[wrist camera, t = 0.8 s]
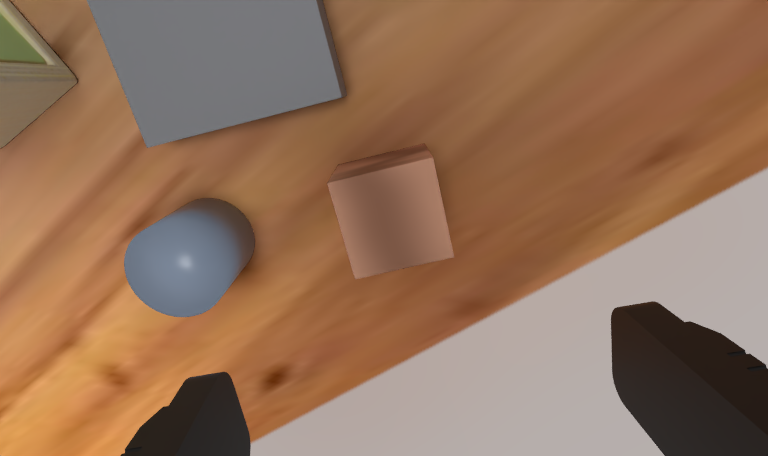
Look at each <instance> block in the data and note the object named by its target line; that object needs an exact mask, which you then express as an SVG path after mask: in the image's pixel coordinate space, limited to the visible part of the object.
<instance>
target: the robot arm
mask: <svg viewBox="0 0 768 456" xmlns="http://www.w3.org/2000/svg"><path fill="white" fill-rule="evenodd" d="M611 336H612V372H613V379H614V384H615V387H616V390H617V392H618V395H619V397H620V399H621V401H622V402H623V404H624V405H625V407H626V408H627V409H628V410H629V411H630V412H631V414H632V415H633V416H634V418H635V419H636V420H637V422H638V423H639V424H640V425H641V427H642V428H643V429H644V430H645V431H646V433H647V434H648V435H649V436H650V438H651V439H652V440H653V441H654V443H655V444H656V445H657V446H658V448H659V449H660V450H661V451H662V453H663V454H664V455H665V456H768V369H767V368H766V365H765V364H764V363H762V362H761V361H760V360H758V359H757V358H755V357H754V356H752V355H751V354H746V353H745V350H744V349H742V348H741V347H739V346H738V345H737V344H735V343H734V342H732V341H731V340H729V339H728V338H727V337H725V336H724V335H722V334H721V333H718V332H716V331H713V330H711V329H708V328H705V327H703V326H700V325H698V324H696V323H693V322H683V321H682V320H681V319H679V318H678V317H677V316H675V315H674V314H673V313H671V312H670V311H668V310H667V309H666V308H665V307H663V306H662V305H660V304H659V303H657V302H647V303H641V304H635V305H629V306H623V307H617V308H615V309H614V310H613V312H612V315H611ZM121 456H250V436H249V431H248V428H247V425H246V421H245V418H244V415H243V412H242V409H241V406H240V403H239V400H238V397H237V394H236V391H235V388H234V384H233V382H232V379H231V377H230V375H229V374H228V373H226V372H220V373H214V374H208V375H202V376H196V377H190V378H188V379H186V380H185V382H184V383H183V385H182V386H181V388H180V389H179V391H178V392H177V394H176V395H175V397H174V398H173V400H172V402H171V403H170V405H169V406H166V407H163V408H161V409H160V410H159V411H158V412H157V413H156V414H155V415H154V416H152V417H151V418H150V419H149V420H148V421H147V422H146V423H144V424H143V425H142V426H141V427H140V428H139V430H138V431H137V433H136V434H135V436H134V437H133V438H132V440H131V441H130V443H129V444H128V446H127V447H126V449H125V454H121Z"/></svg>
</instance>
